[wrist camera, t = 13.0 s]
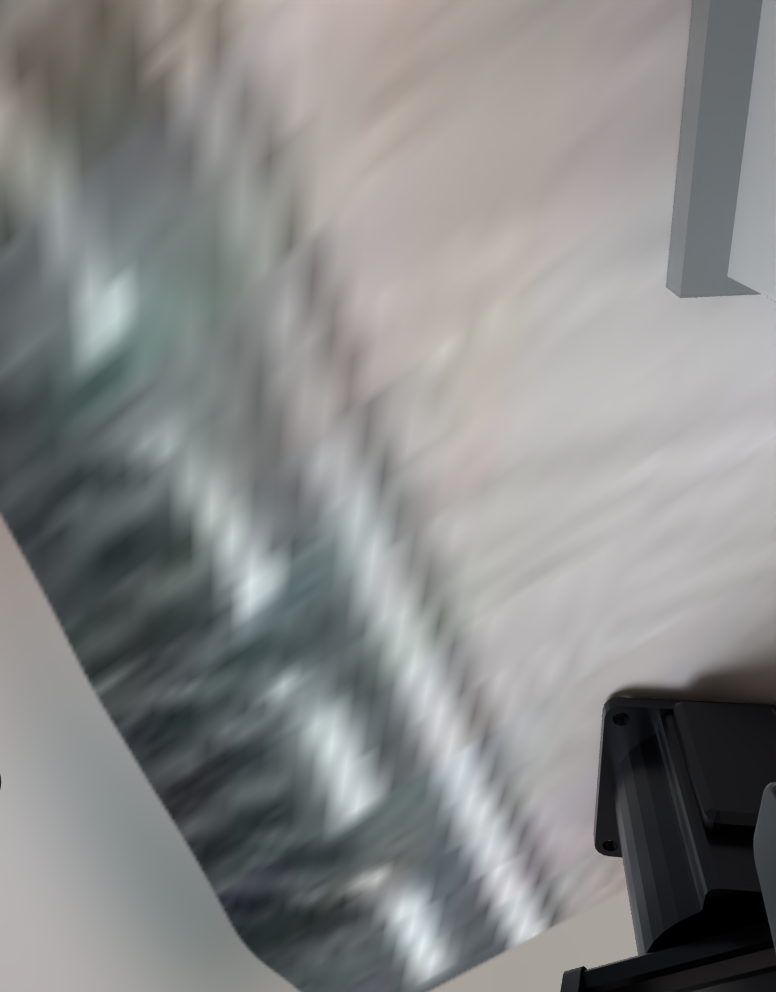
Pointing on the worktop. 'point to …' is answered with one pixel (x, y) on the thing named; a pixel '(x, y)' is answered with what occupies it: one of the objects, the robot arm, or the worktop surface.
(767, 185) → the socket dock
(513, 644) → the worktop surface
